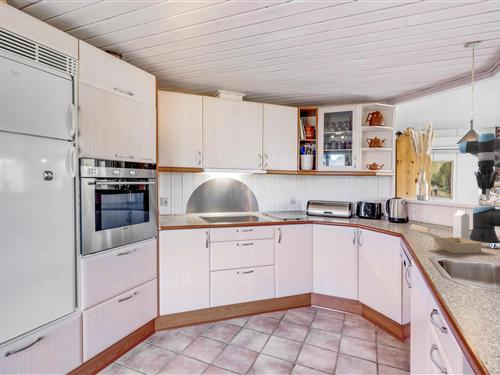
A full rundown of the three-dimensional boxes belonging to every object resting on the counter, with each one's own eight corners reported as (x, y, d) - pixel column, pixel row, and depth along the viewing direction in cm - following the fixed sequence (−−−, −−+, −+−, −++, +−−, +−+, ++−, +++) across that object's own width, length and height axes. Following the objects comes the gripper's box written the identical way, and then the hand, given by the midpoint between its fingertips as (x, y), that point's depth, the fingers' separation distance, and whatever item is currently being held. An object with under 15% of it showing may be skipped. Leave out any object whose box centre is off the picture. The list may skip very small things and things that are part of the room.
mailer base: (458, 246, 177) (458, 237, 177) (481, 253, 161) (481, 242, 161) (433, 247, 176) (433, 237, 175) (454, 253, 160) (454, 243, 159)
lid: (410, 223, 174) (409, 228, 174) (430, 228, 158) (428, 233, 158) (435, 233, 176) (433, 237, 176) (457, 238, 159) (455, 243, 159)
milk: (460, 243, 187) (461, 209, 186) (469, 245, 181) (469, 210, 180) (452, 243, 186) (453, 209, 185) (461, 245, 180) (461, 210, 179)
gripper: (490, 160, 173) (490, 199, 173) (470, 160, 172) (469, 199, 172) (502, 159, 165) (501, 200, 166) (481, 159, 164) (480, 200, 165)
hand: (485, 199), depth 169 cm, fingers closed
